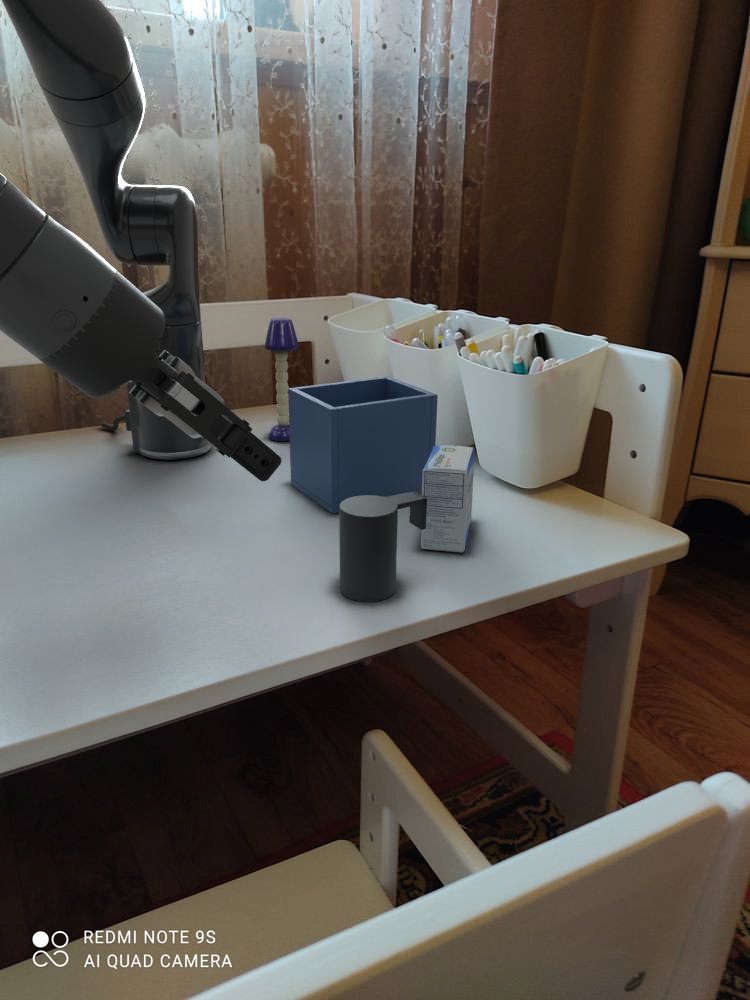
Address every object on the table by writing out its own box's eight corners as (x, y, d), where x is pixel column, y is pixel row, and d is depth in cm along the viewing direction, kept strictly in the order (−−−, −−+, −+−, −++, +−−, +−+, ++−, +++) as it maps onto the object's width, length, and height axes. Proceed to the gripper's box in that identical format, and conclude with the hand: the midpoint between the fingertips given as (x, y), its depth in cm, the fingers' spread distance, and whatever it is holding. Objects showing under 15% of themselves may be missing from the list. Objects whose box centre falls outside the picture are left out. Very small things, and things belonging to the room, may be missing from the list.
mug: (357, 607, 66) (357, 521, 63) (329, 583, 70) (329, 501, 67) (433, 585, 69) (437, 503, 66) (403, 564, 73) (405, 485, 70)
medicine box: (464, 554, 75) (469, 471, 72) (419, 550, 76) (422, 467, 73) (471, 523, 83) (476, 446, 79) (429, 519, 83) (433, 443, 80)
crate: (332, 514, 85) (331, 409, 80) (290, 484, 93) (287, 388, 89) (433, 492, 91) (438, 394, 87) (386, 466, 100) (388, 376, 95)
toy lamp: (265, 433, 112) (260, 317, 106) (296, 430, 114) (293, 315, 108) (272, 442, 108) (267, 322, 102) (304, 439, 110) (301, 320, 103)
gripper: (139, 274, 43) (323, 440, 53) (85, 255, 55) (245, 395, 64) (53, 377, 43) (255, 526, 52) (16, 337, 54) (188, 465, 64)
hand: (249, 454), depth 58 cm, fingers open, 8 cm apart
